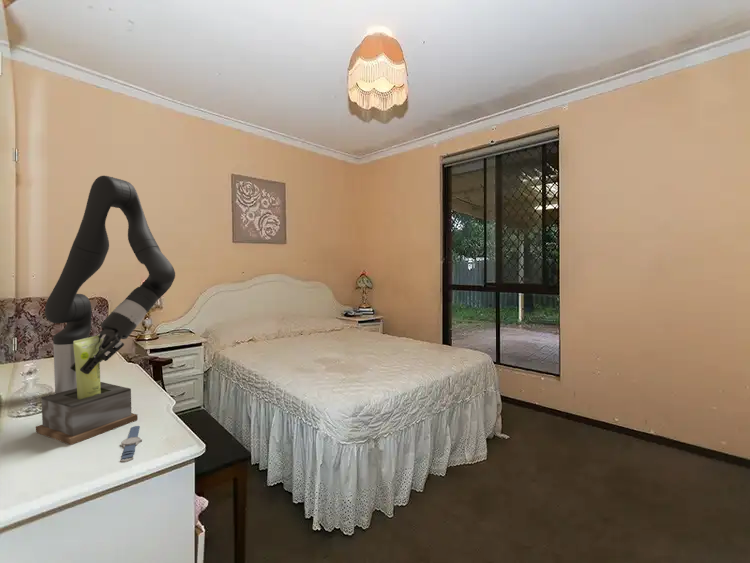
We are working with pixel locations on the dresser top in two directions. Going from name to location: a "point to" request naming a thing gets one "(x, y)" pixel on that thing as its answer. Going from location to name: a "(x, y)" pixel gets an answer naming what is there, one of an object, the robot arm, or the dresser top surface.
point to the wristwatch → (130, 444)
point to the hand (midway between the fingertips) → (78, 371)
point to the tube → (83, 353)
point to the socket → (85, 413)
